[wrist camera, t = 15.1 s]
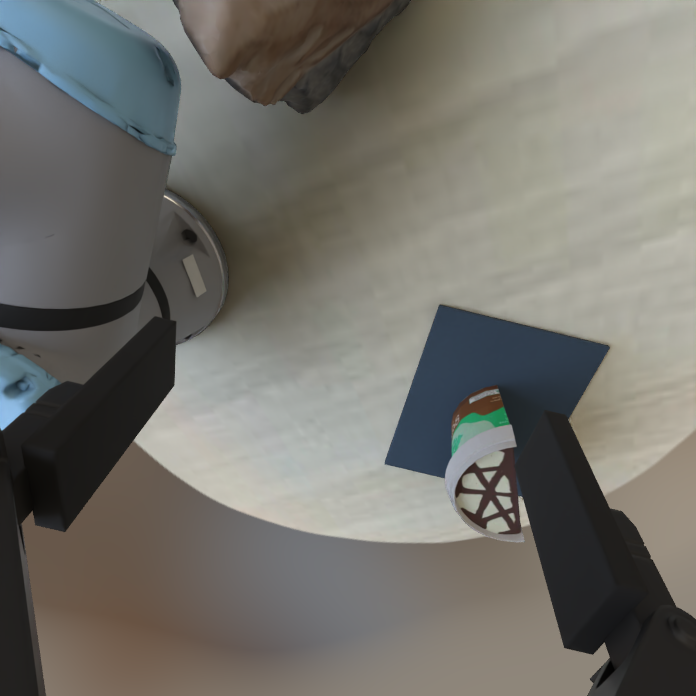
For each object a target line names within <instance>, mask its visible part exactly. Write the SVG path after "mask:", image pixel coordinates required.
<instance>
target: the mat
mask: <svg viewBox="0 0 696 696" xmlns="http://www.w3.org/2000/svg"><path fill="white" fill-rule="evenodd" d="M609 348H610V347H609V346H608V345H604V344H600V343H596V342H592V341H588V340H583V339H579V338H575V337H571V336H567V335H563V334H559V333H555V332H550V331H546V330H542V329H538V328H534V327H530V326H526V325H522V324H518V323H513V322H509V321H505V320H501V319H497V318H493V317H489V316H485V315H480V314H476V313H472V312H468V311H464V310H460V309H456V308H452V307H448V306H443V305H439V307H438V310H437V313H436V316H435V319H434V322H433V324H432V327H431V330H430V333H429V336H428V339H427V342H426V345H425V348H424V350H423V353H422V356H421V359H420V362H419V365H418V368H417V371H416V374H415V376H414V379H413V382H412V385H411V388H410V391H409V394H408V397H407V399H406V402H405V405H404V408H403V411H402V414H401V417H400V420H399V423H398V425H397V428H396V431H395V434H394V437H393V440H392V443H391V446H390V449H389V451H388V454H387V457H386V460H385V464H387V465H391V466H395V467H399V468H403V469H408V470H412V471H416V472H420V473H425V474H429V475H433V476H437V477H441V478H445V474H446V469H447V466H448V463H449V461H450V459H451V458H452V431H451V422H452V417H453V413H454V411H455V410H456V408H457V407H458V405H459V403H460V402H461V401H463V400H464V399H465V398H466V397H467V396H469V395H470V394H471V393H473V392H476V391H478V390H480V389H482V388H485V387H489V386H494V385H497V386H498V389H499V393H500V396H501V399H502V402H503V405H504V408H505V411H506V414H507V417H508V420H509V423H510V425H512V429H513V433H514V437H515V442H516V445H517V447H513V448H514V458H515V464H516V462H517V460H518V458H519V456H520V455H521V453H522V451H523V449H524V447H525V445H526V443H527V442H528V440H529V438H530V436H531V434H532V432H533V431H534V429H535V427H536V425H537V423H538V421H539V419H540V418H541V416H542V414H543V412H544V410H548V411H552V412H556V413H560V414H565V415H566V416H567V418H568V419H569V417H570V415H571V414H572V412H573V410H574V409H575V407H576V405H577V403H578V402H579V400H580V398H581V396H582V395H583V393H584V391H585V390H586V388H587V386H588V384H589V383H590V381H591V379H592V377H593V376H594V374H595V372H596V371H597V369H598V367H599V365H600V364H601V362H602V360H603V358H604V357H605V355H606V353H607V352H608V350H609ZM516 481H517V490H518V496H522V492H521V489H520V485H519V482H518V478H517V474H516ZM522 497H523V496H522Z"/></svg>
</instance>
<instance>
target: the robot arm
mask: <svg viewBox="0 0 696 696" xmlns="http://www.w3.org/2000/svg"><path fill="white" fill-rule="evenodd" d="M180 94H181V79H180V75H179V71H178V68H177V65H176V63H175V61H174V59H173V58H172V56H171V55H170V53H169V52H168V51H167V50H166V49H165V47H164V46H163V45H162V44H161V43H159V42H158V41H157V40H156V39H155V38H153V37H152V36H151V35H149V34H148V33H146V32H145V31H143V30H142V29H140V28H139V27H137V26H136V25H134V24H132V23H131V22H129V21H128V20H126V19H124V18H123V17H121V16H119V15H118V14H116V13H114V12H113V11H111V10H109V9H108V8H106V7H104V6H102V5H101V4H99V3H97V2H96V1H94V0H0V696H46V693H45V686H44V679H43V672H42V665H41V657H40V650H39V643H38V636H37V629H36V622H35V614H34V607H33V601H32V593H31V586H30V579H29V571H28V564H27V557H26V550H25V543H24V535H23V529H22V524H21V523H22V522H23V521H24V520H25V518H26V517H27V516H28V515H29V514H30V513H31V511H32V510H33V515H34V519H35V525H37V526H41V527H46V528H50V529H54V530H59V531H63V532H65V531H66V530H67V529H68V527H69V526H70V525H71V523H72V522H73V521H74V519H75V518H76V517H77V515H78V514H79V513H80V511H81V510H82V509H83V507H84V506H85V504H86V503H87V502H88V500H89V499H90V498H91V496H92V495H93V493H94V492H95V491H96V489H97V488H98V487H99V486H100V484H101V483H102V482H103V480H104V479H105V478H106V476H107V475H108V474H109V472H110V471H111V470H112V468H113V467H114V466H115V464H116V463H117V462H118V460H119V459H120V458H121V456H122V455H123V454H124V452H125V451H126V449H127V448H128V447H129V445H130V444H131V443H132V441H133V440H134V439H135V437H136V436H137V435H138V433H139V432H140V431H141V429H142V428H143V427H144V425H145V424H146V423H147V421H148V420H149V419H150V417H151V416H152V415H153V413H154V412H155V411H156V409H157V408H158V407H159V405H160V404H161V402H162V401H163V400H164V398H165V397H166V396H167V394H168V393H169V392H170V390H171V389H172V388H173V386H174V381H175V351H176V345H178V344H181V343H183V342H186V341H188V340H190V339H192V338H193V337H195V336H197V335H198V334H200V333H201V332H202V331H203V330H205V329H206V328H207V327H208V326H209V324H210V323H211V322H212V321H213V319H214V318H215V317H216V316H217V314H218V313H219V311H220V310H221V308H222V306H223V304H224V301H225V298H226V295H227V290H228V278H229V277H228V267H227V261H226V257H225V254H224V251H223V248H222V246H221V244H220V241H219V239H218V237H217V236H216V234H215V232H214V230H213V229H212V228H211V226H210V225H209V223H208V222H207V221H206V220H205V218H204V217H203V216H202V215H201V214H200V213H199V212H198V211H197V210H196V209H195V208H194V207H193V206H192V205H191V204H189V203H188V202H187V201H185V200H184V199H183V198H181V197H180V196H178V195H176V194H175V193H173V192H171V191H169V190H167V189H165V187H166V182H167V178H168V173H169V168H170V163H171V158H172V156H175V154H176V144H175V142H174V136H175V128H176V122H177V115H178V108H179V101H180ZM514 467H515V471H516V474H517V478H518V482H519V485H520V489H521V492H522V496H523V500H524V503H525V507H526V511H527V514H528V518H529V521H530V525H531V529H532V532H533V536H534V540H535V543H536V547H537V551H538V554H539V558H540V561H541V565H542V569H543V572H544V576H545V580H546V583H547V586H548V590H549V594H550V597H551V601H552V605H553V609H554V612H555V616H556V620H557V623H558V627H559V630H560V634H561V638H562V641H563V645H564V648H567V649H571V650H576V651H579V652H584V653H588V654H594V653H595V652H596V651H597V650H598V648H599V647H600V646H601V645H602V644H603V643H604V642H605V644H606V647H607V650H608V653H609V656H610V658H609V659H608V660H607V662H606V663H605V664H604V665H603V666H602V667H601V668H600V669H599V670H598V671H597V672H596V673H595V674H594V675H593V676H592V677H591V678H590V680H591V681H592V682H593V683H594V684H593V686H592V688H591V690H590V692H589V693H588V695H587V696H696V619H695V618H693V617H692V616H691V615H689V614H688V613H686V612H685V611H683V610H682V609H680V608H677V607H676V605H675V603H674V601H673V599H672V597H671V595H670V593H669V591H668V590H667V587H666V586H665V583H664V582H663V579H662V577H661V575H660V574H659V572H658V570H657V568H656V566H655V564H654V562H653V560H651V559H650V557H651V556H650V554H649V552H648V550H647V548H646V546H644V542H643V540H642V538H641V536H640V534H639V532H638V530H637V528H636V527H635V526H634V524H633V523H632V522H631V521H630V520H629V519H628V518H627V517H626V515H625V514H624V513H623V512H622V511H618V510H614V509H610V508H609V506H608V504H607V501H606V499H605V497H604V495H603V493H602V491H601V489H600V487H599V484H598V482H597V480H596V478H595V476H594V474H593V472H592V469H591V467H590V465H589V463H588V461H587V459H586V457H585V455H584V452H583V450H582V448H581V446H580V444H579V442H578V440H577V437H576V435H575V433H574V431H573V429H572V427H571V425H570V422H569V420H568V418H567V416H566V415H565V414H560V413H556V412H552V411H548V410H544V412H543V414H542V416H541V418H540V419H539V421H538V423H537V425H536V427H535V429H534V431H533V432H532V434H531V436H530V438H529V440H528V442H527V443H526V445H525V447H524V449H523V451H522V453H521V455H520V456H519V458H518V460H517V462H516V464H515V466H514Z"/></svg>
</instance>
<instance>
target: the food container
mask: <svg viewBox="0 0 696 696" xmlns="http://www.w3.org/2000/svg"><path fill="white" fill-rule="evenodd" d="M451 431H452V458H451V459H450V461H449V463H448V466H447V469H446V474H445V485H446V489H447V492H448V495H449V498H450V500H451V503H452V505H453V507H454V509H455V511H456V512H457V513H458V515H459V516H460V517H461V519H462V520H463V521H464V522H465V523H466V524H467V525H468V526H469V527H470V528H472V529H473V530H475V531H477V532H478V533H480V534H483V535H485V536H487V537H490V538H493V539H498V540H502V541H509V542H525V541H524V536H523V532H522V528H521V524H520V516H519V504H518V490H517V481H516V471H515V467H514V466H515V458H514V448H513V447H517V445H516V442H515V437H514V433H513V429H512V425H510V423H509V420H508V417H507V414H506V411H505V408H504V405H503V402H502V399H501V396H500V393H499V389H498V386H497V385H494V386H489V387H485V388H482V389H480V390H478V391H476V392H473V393H471V394H470V395H469V396H467V397H466V398H465V399H464V400H463V401H461V402H460V403H459V405H458V407H457V408H456V410H455V411H454V413H453V417H452V422H451Z"/></svg>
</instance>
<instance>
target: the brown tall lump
mask: <svg viewBox="0 0 696 696" xmlns="http://www.w3.org/2000/svg"><path fill="white" fill-rule="evenodd" d="M410 1H411V0H173V2H174V4H175V5H176V7H177V8H178V10H179V12H180V20H181V22H182V25H183V28H184V31H185V33H186V35H187V36H188V38H189V39H190V41H191V43H192V44H193V46H194V48H195V49H196V51H197V52H198V54H199V56H200V57H201V59H202V60H203V62H204V64H205V65H206V66H207V68H208V69H209V71H210V72H211V73H212V75H214V76H215V77H217V78H219V79H225V80H226V81H227V82H228V83H229V84H230V85H231V86H232V87H233V88H234V89H235V90H237V91H238V92H239V93H241V94H242V95H244V96H245V97H246V98H248V99H249V100H251V101H253V102H254V103H260V104H262V105H263V106H267V105H268V104H272V105H275V104H276V103H277V101H285V102H286V103H287V105H288V106H290V107H291V108H293V109H294V110H296V111H297V112H298V113H301V114H304V113H308V112H310V111H311V110H313V109H314V108H315V107H317V106H318V105H319V104H320V103H321V102H323V101H324V100H325V99H326V97H327V96H328V95H329V94H330V93H331V92H332V91H333V90H334V89H335V87H336V86H337V85H338V84H339V82H340V81H341V80H342V78H343V77H344V76H345V74H346V73H347V71H348V70H349V69H350V67H351V66H352V65H353V64H354V63H355V62H356V61H357V60H358V59H359V57H360V56H361V54H363V53H365V52H366V51H367V49H368V47H369V45H370V43H371V41H372V40H373V38H374V37H375V35H377V34H378V33H379V32H380V31H381V30H382V28H383V26H384V25H385V24H386V23H387V22H389V21H390V20H391V19H392V18H393V17H394V16H397V15H399V14H400V13H401V12H402V11H403V10H404V9H405V8H406V7H407V5H408V4H409V2H410Z"/></svg>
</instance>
